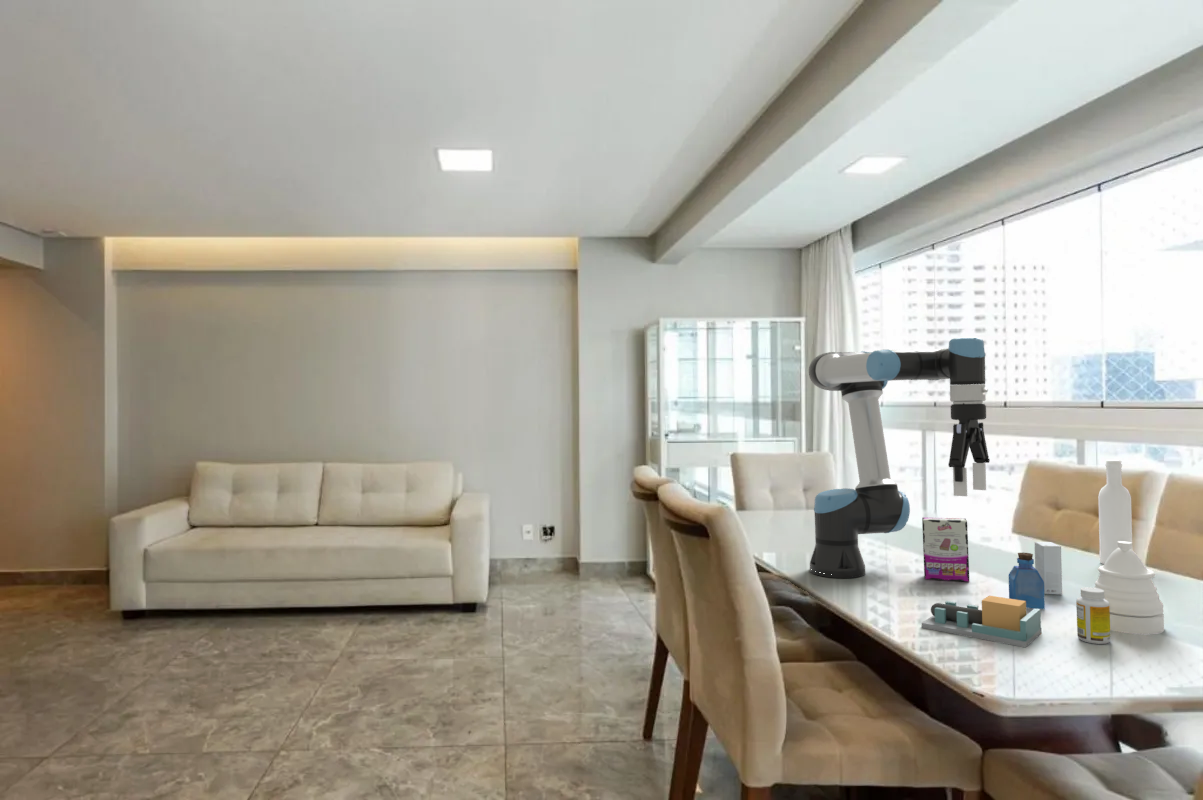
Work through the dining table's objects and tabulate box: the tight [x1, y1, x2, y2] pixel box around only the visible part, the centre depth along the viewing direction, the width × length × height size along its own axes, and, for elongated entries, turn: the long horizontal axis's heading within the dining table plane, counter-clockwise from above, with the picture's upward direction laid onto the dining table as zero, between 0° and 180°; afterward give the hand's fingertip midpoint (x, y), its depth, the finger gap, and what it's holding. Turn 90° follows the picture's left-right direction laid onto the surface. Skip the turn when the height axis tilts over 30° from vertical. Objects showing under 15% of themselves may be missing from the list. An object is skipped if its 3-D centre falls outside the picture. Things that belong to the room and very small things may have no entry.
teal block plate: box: [921, 600, 1042, 648], centre depth 155 cm, size 20×12×5 cm, turn 46°
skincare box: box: [1034, 541, 1063, 595], centre depth 184 cm, size 6×4×12 cm
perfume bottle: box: [1008, 552, 1046, 610], centre depth 173 cm, size 6×6×12 cm
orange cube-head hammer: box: [930, 595, 1027, 631], centre depth 156 cm, size 18×5×6 cm, turn 46°
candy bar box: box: [921, 516, 970, 583], centre depth 200 cm, size 11×5×16 cm, turn 68°
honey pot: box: [1093, 541, 1165, 635], centre depth 157 cm, size 13×13×18 cm
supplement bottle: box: [1075, 586, 1112, 645], centre depth 147 cm, size 6×6×10 cm
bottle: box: [1097, 459, 1134, 565], centre depth 212 cm, size 8×8×30 cm
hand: (970, 492), depth 173 cm, fingers open, 13 cm apart
